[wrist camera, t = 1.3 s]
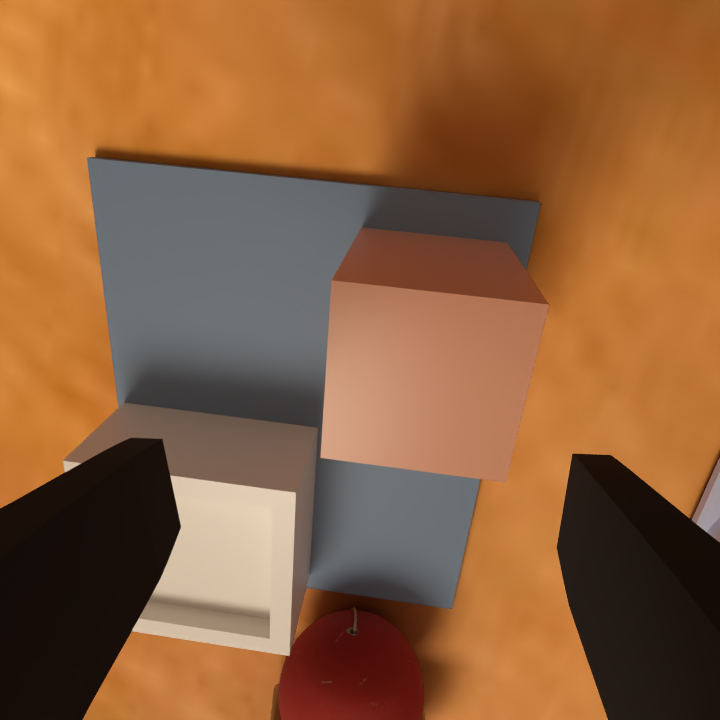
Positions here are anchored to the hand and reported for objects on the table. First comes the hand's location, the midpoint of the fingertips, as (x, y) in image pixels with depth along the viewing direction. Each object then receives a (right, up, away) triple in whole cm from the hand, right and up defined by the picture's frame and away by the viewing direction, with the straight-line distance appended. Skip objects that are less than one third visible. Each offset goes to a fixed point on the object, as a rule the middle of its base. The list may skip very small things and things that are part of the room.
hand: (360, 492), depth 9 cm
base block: (-6, -3, +12) cm, 14 cm away
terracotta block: (+2, +4, +8) cm, 9 cm away
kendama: (-1, -15, +18) cm, 24 cm away
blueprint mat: (-2, 0, +11) cm, 11 cm away
